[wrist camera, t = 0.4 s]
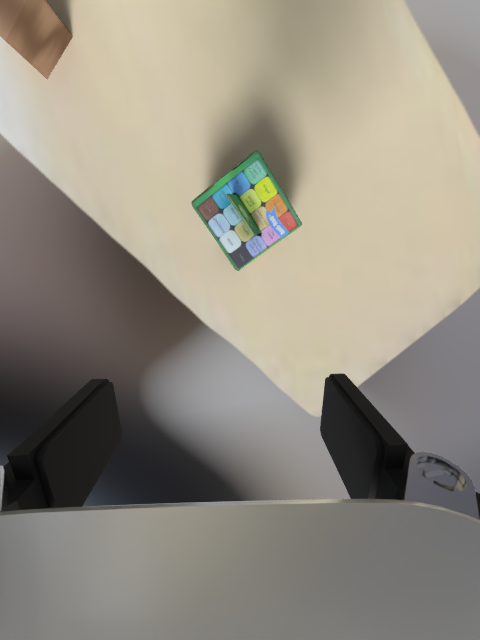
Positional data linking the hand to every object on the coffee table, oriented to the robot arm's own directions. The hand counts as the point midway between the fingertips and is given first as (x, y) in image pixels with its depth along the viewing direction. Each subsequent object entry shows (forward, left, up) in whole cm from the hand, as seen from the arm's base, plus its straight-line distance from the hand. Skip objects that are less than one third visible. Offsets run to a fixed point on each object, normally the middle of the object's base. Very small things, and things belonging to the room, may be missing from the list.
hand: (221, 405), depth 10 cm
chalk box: (-9, -6, -30) cm, 32 cm away
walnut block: (-7, -40, -30) cm, 50 cm away
